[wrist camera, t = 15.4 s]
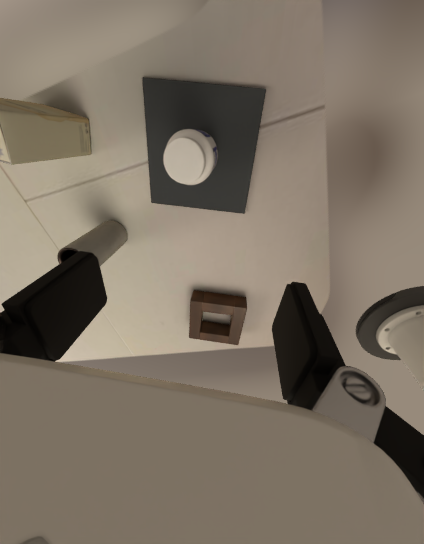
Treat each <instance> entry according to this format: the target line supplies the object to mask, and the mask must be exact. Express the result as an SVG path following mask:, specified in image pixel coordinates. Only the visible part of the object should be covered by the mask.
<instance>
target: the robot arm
mask: <svg viewBox="0 0 424 544" xmlns="http://www.w3.org/2000/svg"><path fill="white" fill-rule="evenodd" d="M106 302H107V296H106V291H105V287H104V283H103V278H102V274H101V270H100V266H99V261H98V258H97V256H95V255H94V253H92V252H85V251H79V252H77V253H75V254H74V255H72V256H71V257H69V258H68V259H67V260H65V261H64V262H62V263H61V264H59V265H58V266H56V267H55V268H53V269H52V270H50V271H49V272H47V273H46V274H45V275H43V276H42V277H40V278H39V279H37V280H36V281H34V282H33V283H31V284H30V285H28V286H27V287H25V288H24V289H23V290H21V291H20V292H18V293H17V294H15V295H14V296H12V297H11V298H9V299H8V300H6V301H5V302H3V303H2V306H3V308H4V309H5V310H4V311H3V312H1V313H0V544H424V435H422V434H421V433H420V432H418V431H417V430H416V429H415V428H413V427H412V426H411V425H409V424H408V423H407V422H406V421H404V420H403V419H402V418H400V417H399V416H398V415H397V414H395V413H394V412H393V411H391V410H390V409H389V408H388V407H386V406H385V405H386V398H385V395H384V392H383V391H382V389H381V388H380V386H379V385H378V384H377V383H376V382H375V380H374V379H373V378H371V377H370V376H369V375H368V374H366V373H365V372H363V371H361V370H359V369H357V368H354V367H350V366H346V365H345V363H344V361H343V359H342V357H341V355H340V353H339V350H338V348H337V346H336V344H335V342H334V339H333V337H332V335H331V333H330V331H329V329H328V326H327V324H326V322H325V320H324V318H323V316H322V315H321V314H319V312H318V310H317V308H316V305H315V303H314V301H313V299H312V296H311V294H310V292H309V290H308V287H307V285H306V284H305V283H298V282H292V283H291V284H287V286H286V289H285V291H284V294H283V297H282V300H281V302H280V305H279V308H278V311H277V314H276V316H275V319H274V322H273V325H272V333H273V339H274V345H275V351H276V358H277V364H278V371H279V377H280V383H281V389H282V395H283V399H284V400H287V402H288V404H286V403H281V402H276V401H272V400H266V399H261V398H257V397H251V396H246V395H241V394H236V393H230V392H225V391H219V390H214V389H208V388H203V387H197V386H192V385H186V384H181V383H175V382H169V381H164V380H158V379H152V378H147V377H141V376H135V375H129V374H124V373H118V372H112V371H106V370H100V369H95V368H89V367H83V366H77V365H71V364H65V363H59V362H55V361H56V360H59V359H60V358H61V357H62V356H63V355H64V354H65V352H66V351H67V350H68V349H69V348H70V346H71V345H72V344H73V343H74V342H75V340H76V339H77V338H78V337H79V336H80V334H81V333H82V332H83V331H84V330H85V328H86V327H87V326H88V325H89V324H90V322H91V321H92V320H93V319H94V318H95V316H96V315H97V314H98V313H99V312H100V310H101V309H102V308H103V307H104V305H105V304H106ZM376 340H377V342H378V343H379V345H380V346H381V348H383V349H384V350H385V351H387V352H389V353H393V354H397V355H398V356H399V358H400V359H401V360H402V361H403V363H404V364H405V366H406V367H407V368H408V370H409V371H410V373H411V374H412V375H413V377H414V378H415V379H416V381H417V382H418V384H419V385H420V386H421V387H422V389H423V390H424V305H421V306H414V307H410V308H407V309H404V310H401V311H399V312H397V313H395V314H393V315H392V316H390V317H388V318H387V319H386V320H385V321H384V322H383V323H382V324H381V325H380V326H379V328H378V330H377V332H376Z"/></svg>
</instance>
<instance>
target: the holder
mask: <svg viewBox="0 0 424 544" xmlns="http://www.w3.org/2000/svg"><path fill="white" fill-rule="evenodd" d="M246 310H247V300H246V297H242V296H234V295H227V294H219V293H212V292H204V291H197V290H194V291H193V294H192V297H191V301H190V327H189V338H193V339H200V340H207V341H213V342H220V343H228V344H234V345H238V344H239V339H240V335H241V331H242V327H243V323H244V319H245V315H246ZM203 311H204V312H211V313H219V314H226V315H231V319H230V324H221V323H214V322H207V321H202V319H203Z"/></svg>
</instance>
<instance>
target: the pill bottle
mask: <svg viewBox="0 0 424 544" xmlns="http://www.w3.org/2000/svg"><path fill="white" fill-rule="evenodd" d="M217 159H218V150H217V146H216V143H215V141H214V140H213V138H212V137H211V136H210V135H209V134H208V133H206V132H204V131H201V130H195V129H184V130H180V131H178V132H176V133H175V134H174V135H173V136H172V137H171V138H170V140H169V141H168V143H167V146H166V149H165V151H164V157H163V161H164V166H165V169H166V171H167V173H168V174H169V176H170V177H171V178H172V179H173V180H175V181H176V182H179V183H182V184H186V185H196V184H199V183H201V182H203V181H204V180H205V179H207V177H208V176H209V175H210V174H211V172H212V171H213V169H214V168H215V166H216V163H217Z"/></svg>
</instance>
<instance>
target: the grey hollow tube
mask: <svg viewBox="0 0 424 544" xmlns="http://www.w3.org/2000/svg"><path fill="white" fill-rule="evenodd" d="M126 241H127V232H126V230H125V228H124V227H123V226H122V225H121V224H120V223H118V222H116V221H112V220H109V221H106V222H104V223H102V224H101V225H99V226H97V227H96V228H94V229H93V230H91V231H89V232H88V233H86V234H85V235H83V236H81V237H80V238H78V239H77V240H75V241H73V242H72V243H70V244H69V245H67V246H66V247H64V248H62V249H61V250H60V251H59V253H58V261H59V264H61V263H62V262H64V261H65V260H67V259H68V258H69V257H71V256H72V255H74V254H75V253H77V252H79V251H85V252H92V253H94V255H95V256H97V258H98V261H99V266H101V265H102V264H103V263H104V262H105V261H106V260H107V259H108V258H110V257H111V256H112V255H113V254H114V253H115V252H116V251H117V250H118V249H119V248H120V247H121V246H122V245H124V243H125V242H126Z"/></svg>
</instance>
